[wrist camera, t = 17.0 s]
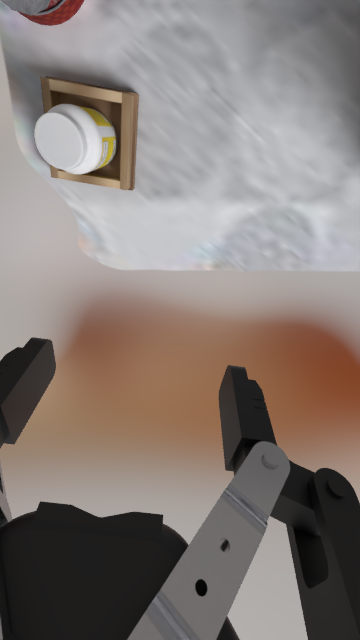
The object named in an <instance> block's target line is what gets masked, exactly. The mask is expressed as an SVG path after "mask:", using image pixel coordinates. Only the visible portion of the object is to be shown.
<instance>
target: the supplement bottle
mask: <svg viewBox="0 0 360 640" xmlns="http://www.w3.org/2000/svg"><path fill="white" fill-rule="evenodd" d="M34 139H35V143H36V146H37V149H38V151H39V153H40V154H41V156H42V157H43V158H44V159H45V160H46V161H47V162H48V163H49V164H50V165H52V166H53V167H56V168H58V169H62V170H64V171H66V172H68V173H71V174H85V173H88V172H91V171H93V170H96V169H99V168H101V167H103V166H106V165H107V164H109V163H110V162H111V161H112V160H113V158H114V157H115V155H116V152H117V147H118V139H117V134H116V131H115V128H114V126H113V125H112V123H111V121H110V120H109V119H108V118H107V117H106V116H105V115H104V114H103V113H101V112H99V111H97V110H94V109H91V108H85V107H81V106H76V105H72V104H60V105H57V106H54V107H53V108H51V109H50V110H49V111H48V112H47V113H45V114H43V115H42V116H41V117H40V118H39V119H38V120H37V122H36V125H35V129H34Z"/></svg>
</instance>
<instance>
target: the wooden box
mask: <svg viewBox="0 0 360 640" xmlns="http://www.w3.org/2000/svg"><path fill="white" fill-rule="evenodd" d="M40 78H41V87H42V96H43V105H44V114H45V113H47V112H48V111H49V110H50V109H51V108H53V107H54V106H57V105H60V104H72V105H76V106H81V107H85V108H91V109H94V110H97V111H99V112H101V113H103V114H104V115H105V116H106V117H107V118H108V119H109V120H110V121H111V123H112V125H113V126H114V128H115V131H116V134H117V139H118V147H117V152H116V155H115V157H114V158H113V160H112V161H111V162H110V163H109V164H107V165H106V166H103V167H101V168H99V169H96V170H93V171H91V172H88V173H85V174H71V173H68V172H66V171H64V170H62V169H58V168H56V167H53V166H52V165H50V169H51V177H53V178H59V179H65V180H71V181H77V182H83V183H89V184H94V185H100V186H106V187H112V188H118V189H124V190H127V189H128V190H133V189H134V184H135V163H136V143H137V122H138V101H139V95H138V94H137V93H132V92H127V91H121V90H116V89H111V88H106V87H100V86H95V85H90V84H84V83H79V82H74V81H69V80H63V79H58V78H53V77H48V76H46V78H42V77H40Z"/></svg>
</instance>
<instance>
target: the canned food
mask: <svg viewBox="0 0 360 640" xmlns="http://www.w3.org/2000/svg"><path fill="white" fill-rule="evenodd" d="M2 1H3V2H4V3H5V4H6V5H8V6H9V7H10V8H11V9H12V10H15V11H17V12H19V13H20V14H21V15H23V16H25V17H26V18H28V19H29V20H31V21H33V22H36V23H38V24H41V25H49V26H52V25H58V24H62V23H64V22H66V21H67V20H69V19H70V18H71V17H73V16H74V15H75V14H76V13H77V11H78V10H79V8H80V7H81V5H82V4H83V2H84V0H2Z"/></svg>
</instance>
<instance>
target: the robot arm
mask: <svg viewBox="0 0 360 640" xmlns="http://www.w3.org/2000/svg"><path fill="white" fill-rule="evenodd" d="M55 369H56V363H55V356H54V350H53V344H52V341H51V340H48V339H41V338H31V339H30V340H29V341H28V342H27V344H26V345H25V346H24V347H23V348H19V347H17V348H16V349H14V350H12V351H11V352H9V353H8V354H6V355H5V356H4V357H3V359H2V360H1V361H0V448H1V446H2V445H3V443H7V444H15V442H16V440H17V439H18V437H19V435H20V434H21V432H22V430H23V429H24V427H25V425H26V423H27V422H28V420H29V418H30V416H31V415H32V413H33V411H34V410H35V408H36V406H37V404H38V403H39V401H40V399H41V397H42V396H43V394H44V392H45V390H46V389H47V387H48V385H49V384H50V382H51V380H52V378H53V376H54V373H55ZM219 408H220V418H221V428H222V438H223V449H224V459H225V469H226V470H227V471H234V478H233V479H232V481H231V482H230V484H229V485H228V487H227V488H226V489H225V491H224V492H223V494H222V495H221V496H220V498H219V500H218V501H217V503H216V504H215V506H214V507H213V509H212V510H211V512H210V513H209V515H208V517H207V518H206V520H205V521H204V523H203V524H202V526H201V528H200V529H199V531H198V532H197V534H196V535H195V537H194V538H193V540H192V541H191V543H190V544H189V545H188V544H187V542H186V541H185V540H184V539H183V538H182V537H181V536H180V535H179V534H178V533H177V532H176V531H175V530H173V529H172V528H170V527H169V526H167V525H165V524H163V515H160V514H150V513H141V512H129V513H124V514H119V515H114V516H108V517H103V518H100V517H97V516H94V515H92V514H90V513H88V512H86V511H83V510H81V509H79V508H76V507H74V506H72V505H67V504H57V503H49V502H40V503H39V506H38V508H37V511H34V512H30V513H27V514H24V515H22V516H19V517H17V518H15V519H13V520H12V516H11V512H10V508H9V505H8V502H7V498H6V492H5V486H4V481H3V475H2V469H1V464H0V640H240V639H239V638H238V636H237V634H236V632H235V630H234V628H233V626H232V624H231V622H230V621H229V619H228V617H227V615H228V612H229V610H230V608H231V606H232V604H233V601H234V599H235V597H236V595H237V593H238V590H239V588H240V586H241V584H242V582H243V579H244V577H245V575H246V573H247V571H248V569H249V566H250V564H251V562H252V560H253V558H254V555H255V553H256V551H257V548H258V547H259V544H260V542H261V540H262V538H263V535H264V533H265V531H266V528H267V520H268V517H269V516H271V517H273V518H275V519H277V520H279V521H281V522H283V523H285V524H286V526H287V531H288V536H289V541H290V547H291V552H292V558H293V563H294V568H295V573H296V579H297V584H298V589H299V594H300V600H301V605H302V610H303V615H304V621H305V626H306V631H307V636H308V640H360V503H359V501H358V498H357V496H356V493H355V491H354V489H353V487H352V486H351V484H350V483H349V482H348V481H347V480H346V478H345V477H343V476H342V475H341V474H339V473H338V472H336V471H335V470H332V469H329V468H321V469H319V470H317V472H316V473H314V472H312V471H310V470H308V469H305V468H303V467H301V466H299V465H297V464H294V463H293V462H291V461H290V460H289V459H288V458H287V456H286V454H285V453H284V451H283V450H282V449H281V448H279V447H278V446H277V444H276V440H275V437H274V433H273V429H272V426H271V422H270V418H269V414H268V411H267V407H266V403H265V402H264V396H263V392H262V389H261V388H260V387H259V385H258V384H257V382H256V381H255V380H249V379H248V377H247V372H246V369H245V368H244V367H238V366H230V365H228V367H227V369H226V372H225V375H224V378H223V380H222V383H221V386H220V390H219Z"/></svg>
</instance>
